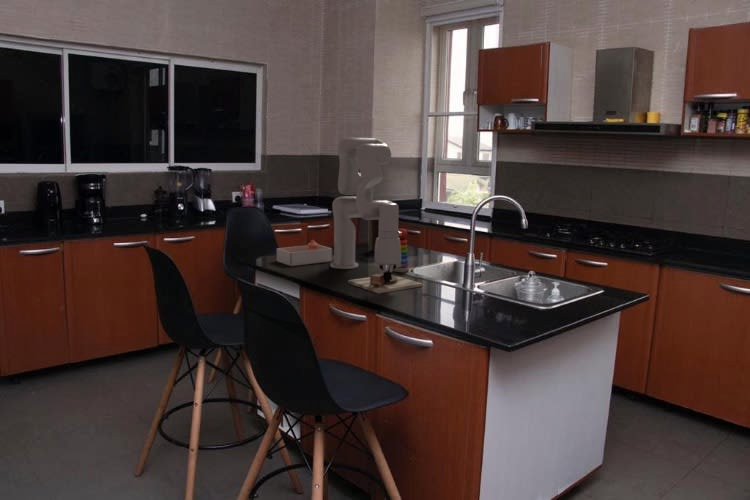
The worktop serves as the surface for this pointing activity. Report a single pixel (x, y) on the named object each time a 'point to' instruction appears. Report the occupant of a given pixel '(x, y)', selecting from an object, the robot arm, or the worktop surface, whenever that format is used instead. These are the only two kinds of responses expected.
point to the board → (399, 285)
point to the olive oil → (375, 232)
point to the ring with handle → (381, 280)
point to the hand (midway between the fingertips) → (387, 281)
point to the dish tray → (303, 255)
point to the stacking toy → (403, 252)
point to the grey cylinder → (382, 273)
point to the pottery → (312, 246)
